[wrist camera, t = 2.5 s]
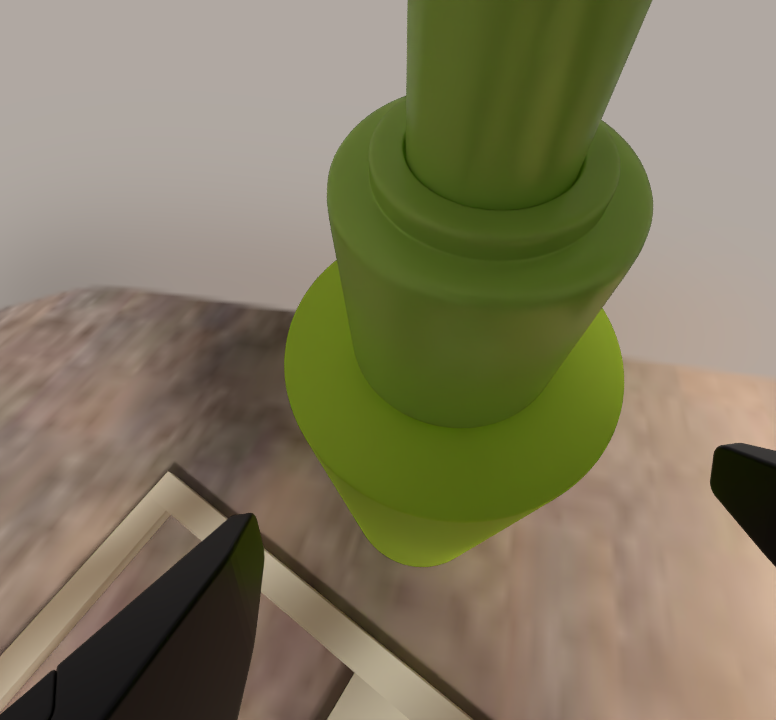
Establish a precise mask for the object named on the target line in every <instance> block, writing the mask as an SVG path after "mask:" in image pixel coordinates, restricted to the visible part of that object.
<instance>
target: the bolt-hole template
mask: <svg viewBox="0 0 776 720" xmlns="http://www.w3.org/2000/svg"><path fill="white" fill-rule="evenodd" d="M170 515H172V516H173V517H174V518H175V519H177V520H178V521H179V522H180V523H181V524H182V525H184V526H185V527H186V528H187V529H188V530H189V531H191V532H192V533H193V534H194V535H195V536H196V537H198V538H199V539H200V540H201V541H203V540H204V539H205V538H206V537H207V536H208V535H210V534H211V533H212V532H213V531H214V530H215V529H217V528H218V527H219V526H220V525H221V524H222V523H223V522H225V521H226V520H227V519H228V518H227V517H226V516H224V515H223V514H222V513H221V512H220V511H218V510H217V509H216V508H215V507H213V506H212V505H211V504H210V503H209V502H207V501H206V500H205V499H204V498H202V497H201V496H200V495H199V494H198V493H196V492H195V491H194V490H193V489H191V488H190V487H189V486H188V485H187V484H185V483H184V482H183V481H182V480H180V479H179V478H178V477H177V476H176V475H174V474H172V473H171V472H169V471H168V472H167V473H166V474H165V475H164V476H163V477H162V479H161V480H160V481H159V482H158V483H157V484H156V485H155V486H154V487H153V489H152V490H151V491H150V492H149V493H148V494H147V495H146V496H145V497H144V498H143V500H142V501H141V502H140V503H139V504H138V505H137V506H136V507H135V508H134V509H133V511H132V512H131V513H130V514H129V515H128V516H127V517H126V518H125V519H124V520H123V522H122V523H121V524H120V525H119V526H118V527H117V528H116V529H115V530H114V531H113V533H112V534H111V535H110V536H109V537H108V538H107V539H106V540H105V541H104V543H103V544H102V545H101V546H100V547H99V548H98V549H97V550H96V551H95V552H94V554H93V555H92V556H91V557H90V558H89V559H88V560H87V561H86V562H85V563H84V565H83V566H82V567H81V568H80V569H79V570H78V571H77V572H76V573H75V574H74V576H73V577H72V578H71V579H70V580H69V581H68V582H67V583H66V584H65V585H64V587H63V588H62V589H61V590H60V591H59V592H58V593H57V594H56V595H55V597H54V598H53V599H52V600H51V601H50V602H49V603H48V604H47V605H46V606H45V608H44V609H43V610H42V611H41V612H40V613H39V614H38V615H37V616H36V617H35V619H34V620H33V621H32V622H31V623H30V624H29V625H28V626H27V627H26V628H25V630H24V631H23V632H22V633H21V634H20V635H19V636H18V637H17V638H16V639H15V641H14V642H13V643H12V644H11V645H10V646H9V647H8V648H7V649H6V651H5V652H4V653H3V654H2V655H1V656H0V712H1V711H2V709H3V708H4V707H5V706H6V705H7V704H8V702H9V701H10V700H11V699H12V698H13V697H14V695H15V694H16V693H17V692H18V691H19V690H20V689H21V687H22V686H23V685H24V684H25V683H26V682H27V680H28V679H29V678H30V677H31V676H32V675H33V674H34V672H35V671H36V670H37V669H38V668H39V667H40V665H41V664H42V663H43V662H44V661H45V660H46V658H47V657H48V656H49V655H50V654H51V653H52V652H53V650H54V649H55V648H56V647H57V646H58V645H59V643H60V642H61V641H62V640H63V639H64V638H65V637H66V635H67V634H68V633H69V632H70V631H71V630H72V628H73V627H74V626H75V625H76V624H77V623H78V621H79V620H80V619H81V618H82V617H83V616H84V615H85V613H86V612H87V611H88V610H89V609H90V608H91V606H92V605H93V604H94V603H95V602H96V601H97V600H98V598H99V597H100V596H101V595H102V594H103V593H104V591H105V590H106V589H107V588H108V587H109V586H110V584H111V583H112V582H113V581H114V580H115V579H116V578H117V576H118V575H119V574H120V573H121V572H122V571H123V569H124V568H125V567H126V566H127V565H128V564H129V563H130V561H131V560H132V559H133V558H134V557H135V556H136V554H137V553H138V552H139V551H140V550H141V549H142V547H143V546H144V545H145V544H146V543H147V542H148V541H149V539H150V538H151V537H152V536H153V535H154V534H155V532H156V531H157V530H158V529H159V528H160V527H161V526H162V524H163V523H164V522H165V521H166V520H167V519H168V517H169V516H170ZM264 556H265V559H264V569H263V578H262V586H261V592H262V593H263V594H264V595H265V596H266V597H267V598H269V599H270V600H271V601H272V602H273V603H274V604H276V605H277V606H278V607H279V608H280V609H281V610H282V611H284V612H285V613H286V614H287V615H288V616H289V617H291V618H292V619H293V620H294V621H295V622H296V623H298V624H299V625H300V626H301V627H302V628H303V629H305V630H306V631H307V632H308V633H309V634H310V635H312V636H313V637H314V638H315V639H316V640H317V641H319V642H320V643H321V644H322V645H323V646H324V647H326V648H327V649H328V650H329V651H330V652H331V653H333V654H334V655H335V656H336V657H337V658H338V659H339V660H341V661H342V662H343V663H344V664H345V665H346V666H348V667H349V668H350V669H351V670H352V671H353V672H355V673H354V674H353V676H352V678H351V680H350V681H349V683H348V685H347V686H346V688H345V690H344V692H343V693H342V695H341V697H340V698H339V700H338V702H337V703H336V705H335V707H334V709H333V710H332V712H331V714H330V715H329V717H328V719H327V720H474V719H472V718H471V717H470V716H469V715H468V714H466V713H465V712H464V711H463V710H461V709H460V708H459V707H458V706H457V705H455V704H454V703H453V702H452V701H450V700H449V699H448V698H447V697H446V696H444V695H443V694H442V693H441V692H439V691H438V690H437V689H436V688H435V687H433V686H432V685H431V684H430V683H428V682H427V681H426V680H425V679H424V678H422V677H421V676H420V675H419V674H417V673H416V672H415V671H414V670H413V669H411V668H410V667H409V666H408V665H406V664H405V663H404V662H403V661H402V660H400V659H399V658H398V657H397V656H395V655H394V654H393V653H392V652H391V651H389V650H388V649H387V648H386V647H384V646H383V645H382V644H381V643H380V642H378V641H377V640H376V639H375V638H373V637H372V636H371V635H370V634H369V633H367V632H366V631H365V630H364V629H362V628H361V627H360V626H359V625H358V624H356V623H355V622H354V621H353V620H351V619H350V618H349V617H348V616H347V615H345V614H344V613H343V612H342V611H341V610H339V609H338V608H337V607H336V606H334V605H333V604H332V603H331V602H330V601H328V600H327V599H326V598H325V597H323V596H322V595H321V594H320V593H319V592H317V591H316V590H315V589H314V588H312V587H311V586H310V585H309V584H308V583H306V582H305V581H304V580H303V579H301V578H300V577H299V576H298V575H297V574H295V573H294V572H293V571H292V570H290V569H289V568H288V567H287V566H286V565H284V564H283V563H282V562H281V561H279V560H278V559H277V558H276V557H275V556H273V555H272V554H271V553H270V552H268V551H267V550H266V549H265V548H264Z"/></svg>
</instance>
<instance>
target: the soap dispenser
mask: <svg viewBox="0 0 776 720" xmlns="http://www.w3.org/2000/svg"><path fill="white" fill-rule="evenodd" d="M651 2H652V0H408V15H407V17H408V18H407V86H406V87H407V88H406V92H407V93H406V96H404V97H401V98H399V99H397V100H394V101H392V102H390V103H388V104H386V105H384V106H382V107H381V108H379V109H377V110H376V111H374V112H373V113H371V114H370V115H369V116H367V117H366V118H365V119H364V120H362V121H361V122H360V123H359V124H358V125H357V126H356V127H355V128H354V129H353V130H352V131H351V132H350V134H349V135H348V136H347V137H346V138H345V140H344V141H343V143H342V144H341V146H340V147H339V149H338V150H337V152H336V154H335V156H334V159H333V161H332V164H331V167H330V171H329V175H328V183H327V206H328V213H329V220H330V226H331V232H332V237H333V242H334V248H335V253H336V258H337V260H336V261H335V262H333V263H332V264H331V265H330V266H329V267H328V268H327V269H326V270H325V271H324V272H323V273H322V274H321V275H320V276H319V277H318V278H317V279H316V280H315V282H314V283H313V284H312V286H311V287H310V288H309V290H308V291H307V292H306V294H305V295H304V297H303V299H302V301H301V302H300V304H299V306H298V308H297V310H296V312H295V314H294V317H293V319H292V322H291V325H290V328H289V332H288V336H287V341H286V347H285V357H284V373H285V383H286V389H287V394H288V398H289V402H290V405H291V409H292V411H293V414H294V417H295V419H296V421H297V424H298V426H299V428H300V430H301V432H302V433H303V435H304V437H305V439H306V440H307V442H308V444H309V445H310V447H311V448H312V450H313V452H314V453H315V455H316V457H317V458H318V460H319V461H320V463H321V465H322V466H323V468H324V470H325V471H326V473H327V474H328V476H329V478H330V479H331V481H332V483H333V484H334V486H335V487H336V489H337V491H338V492H339V494H340V496H341V497H342V499H343V500H344V502H345V504H346V505H347V507H348V509H349V510H350V512H351V513H352V515H353V517H354V518H355V520H356V522H357V523H358V525H359V526H360V528H361V530H362V531H363V533H364V535H365V536H366V538H367V539H368V540H369V541H370V543H371V544H372V545H373V546H374V547H375V548H376V549H377V550H378V551H380V552H381V553H382V554H383V555H385V556H386V557H388V558H390V559H392V560H394V561H396V562H398V563H401V564H404V565H408V566H414V567H431V566H436V565H440V564H443V563H446V562H448V561H451V560H453V559H454V558H456V557H458V556H459V555H461V554H463V553H464V552H466V551H468V550H470V549H471V548H473V547H475V546H476V545H478V544H480V543H481V542H483V541H485V540H486V539H488V538H490V537H491V536H493V535H495V534H497V533H498V532H500V531H502V530H503V529H505V528H507V527H508V526H510V525H512V524H513V523H515V522H517V521H518V520H520V519H522V518H523V517H525V516H527V515H529V514H530V513H532V512H534V511H535V510H537V509H539V508H540V507H542V506H544V505H545V504H547V503H549V502H550V501H552V500H554V499H555V498H557V497H559V496H560V495H562V494H563V493H565V492H566V491H567V490H569V489H570V488H571V487H572V486H574V485H575V484H576V483H577V482H578V481H579V480H580V479H582V478H583V477H584V476H585V475H586V474H587V472H588V471H589V470H590V469H591V468H592V467H593V466H594V464H595V463H596V462H597V461H598V459H599V458H600V457H601V455H602V454H603V452H604V450H605V449H606V447H607V445H608V443H609V442H610V440H611V438H612V435H613V433H614V431H615V428H616V426H617V422H618V419H619V416H620V412H621V408H622V402H623V395H624V369H623V361H622V356H621V351H620V347H619V344H618V340H617V337H616V335H615V332H614V330H613V328H612V325H611V323H610V321H609V319H608V317H607V315H606V313H605V311H604V310H603V308H602V307H603V306H604V305H605V303H606V302H607V300H608V299H609V298H610V296H611V295H612V293H613V292H614V290H615V289H616V288H617V286H618V285H619V284H620V282H621V281H622V279H623V278H624V277H625V275H626V274H627V272H628V271H629V269H630V268H631V266H632V264H633V263H634V262H635V260H636V258H637V257H638V255H639V253H640V252H641V250H642V247H643V245H644V243H645V240H646V238H647V235H648V233H649V230H650V226H651V222H652V216H653V197H652V191H651V187H650V183H649V180H648V177H647V174H646V172H645V169H644V168H643V165H642V163H641V161H640V160H639V158H638V156H637V155H636V153H635V152H634V151H633V149H632V148H631V147H630V145H629V144H628V143H627V142H626V141H625V140H624V139H623V138H622V137H621V136H620V135H619V134H618V133H617V132H616V131H615V130H614V129H613V128H611V127H610V126H609V125H608V124H606V123H605V122H604V121H602V120H601V119H602V117H603V114H604V112H605V109H606V107H607V105H608V102H609V100H610V98H611V95H612V93H613V91H614V88H615V86H616V84H617V81H618V79H619V77H620V74H621V72H622V70H623V67H624V65H625V63H626V60H627V58H628V56H629V53H630V51H631V49H632V46H633V44H634V42H635V39H636V37H637V35H638V32H639V30H640V28H641V25H642V23H643V21H644V18H645V16H646V14H647V11H648V9H649V7H650V4H651Z"/></svg>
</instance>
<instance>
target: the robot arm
mask: <svg viewBox="0 0 776 720" xmlns="http://www.w3.org/2000/svg"><path fill="white" fill-rule="evenodd" d="M710 486H711V489H712V491H713V493H714V495H715V496H716V498H717V499H718V500H719V501H720V502H721V504H722V505H723V506H724V507H725V508H726V509H727V511H728V512H729V513H730V514H731V515H732V517H733V518H734V519H735V520H736V521H737V523H738V524H739V525H740V526H741V527H742V528H743V530H744V531H745V532H746V533H747V534H748V536H749V537H750V538H751V539H752V540H753V541H754V543H755V544H756V545H757V546H758V547H759V549H760V550H761V551H762V552H763V553H764V554H765V556H766V557H767V558H768V559H769V560H770V561H771V562H772V564H773V565H774V566H775V567H776V451H774V450H770V449H765V448H761V447H757V446H752V445H748V444H744V443H734V444H727V445H721V446H719V447H717V448H716V450H715V451H714V455H713V463H712V470H711V478H710ZM264 559H265V556H264V547H263V543H262V539H261V535H260V530H259V526H258V522H257V518H256V516H255V515H254V514H253V513H246V514H239V515H233V516H231V517H229V518H228V519H227V520H226V521H225V522H223V523H222V524H221V525H220V526H219V527H218V528H217V529H215V530H214V531H213V532H212V533H211V534H210V535H208V536H207V537H206V538H205V539H204V540H203V541H201V542H200V543H199V544H198V545H197V546H196V547H195V548H193V549H192V550H191V551H190V552H189V553H188V554H186V555H185V556H184V557H183V558H182V559H181V560H179V561H178V562H177V563H176V564H175V565H174V566H173V567H171V568H170V569H169V570H168V571H167V572H166V573H164V574H163V575H162V576H161V577H160V578H159V579H157V580H156V581H155V582H154V583H153V584H152V585H150V586H149V587H148V588H147V589H146V590H145V591H144V592H142V593H141V594H140V595H139V596H138V597H137V598H135V599H134V600H133V601H132V602H131V603H130V604H128V605H127V606H126V607H125V608H124V609H123V610H122V611H120V612H119V613H118V614H117V615H116V616H115V617H113V618H112V619H111V620H110V621H109V622H108V623H106V624H105V625H104V626H103V627H102V628H101V629H99V630H98V631H97V632H96V633H95V634H94V635H92V636H91V637H90V638H89V639H88V640H87V641H86V642H84V643H83V644H82V645H81V646H80V647H79V648H77V649H76V650H75V651H74V652H73V653H72V654H70V655H69V656H68V657H67V658H66V659H65V660H63V661H62V662H61V663H60V664H59V665H58V666H57V671H55V670H52V671H51V672H49V673H48V674H47V675H46V676H45V677H44V678H43V679H41V680H40V681H39V682H38V683H37V684H36V685H34V686H33V687H32V688H31V689H30V690H29V691H27V692H26V693H25V694H24V695H23V696H22V697H20V698H19V699H18V700H17V701H16V702H14V703H13V704H12V705H11V706H10V707H8V708H7V709H6V710H5V711H4V712H3V713H1V714H0V720H237V719H238V715H239V710H240V706H241V702H242V697H243V693H244V689H245V684H246V680H247V675H248V671H249V667H250V662H251V658H252V653H253V648H254V642H255V635H256V628H257V619H258V611H259V603H260V594H261V586H262V578H263V569H264Z"/></svg>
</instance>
